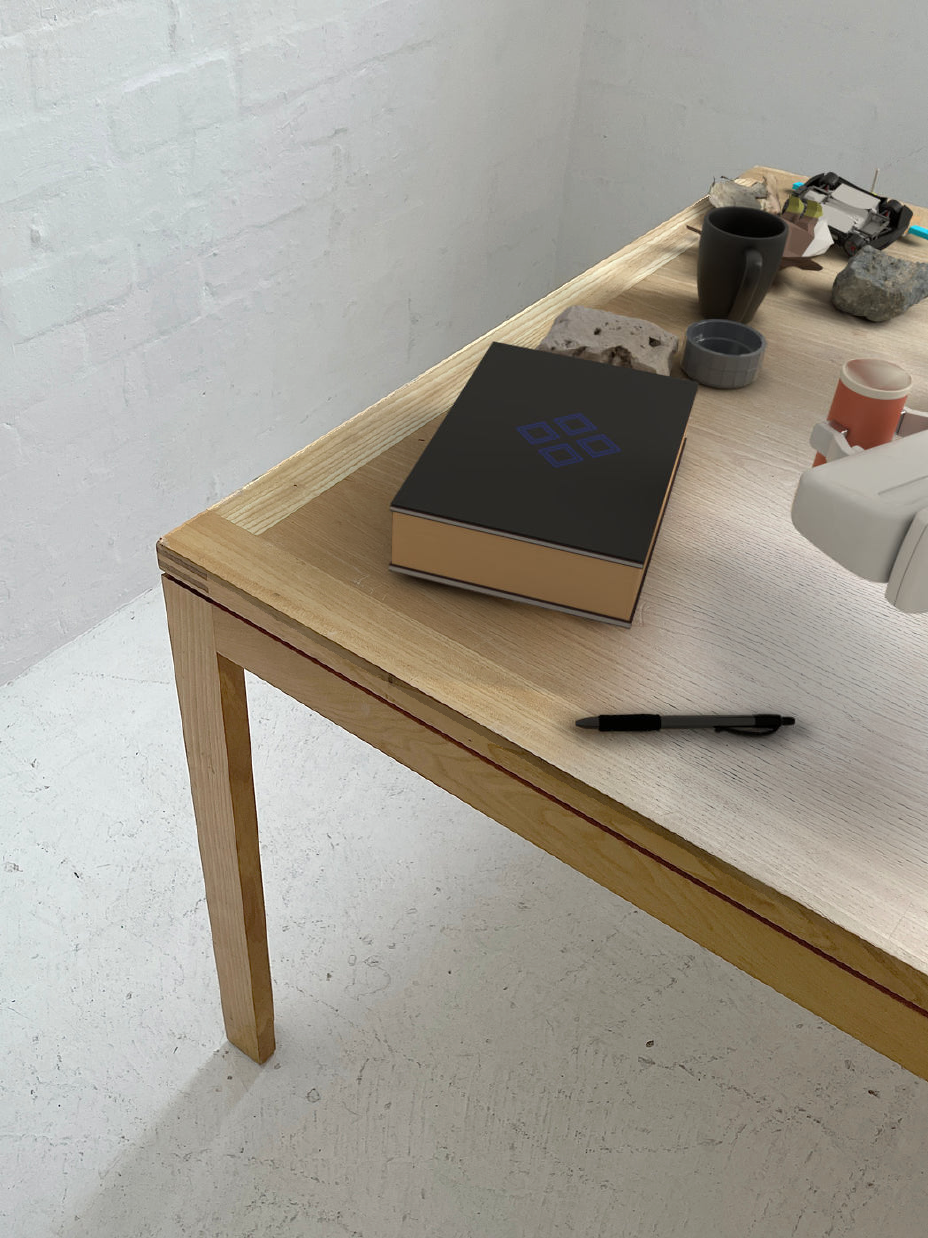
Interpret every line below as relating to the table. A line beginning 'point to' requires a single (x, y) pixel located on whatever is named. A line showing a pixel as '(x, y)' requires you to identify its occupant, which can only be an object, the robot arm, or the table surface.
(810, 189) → the toy car
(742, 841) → the table surface
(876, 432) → the canister
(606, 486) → the book
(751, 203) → the stone fragment
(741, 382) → the bowl
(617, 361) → the stone
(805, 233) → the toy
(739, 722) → the pen
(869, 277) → the rock
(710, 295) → the mug
